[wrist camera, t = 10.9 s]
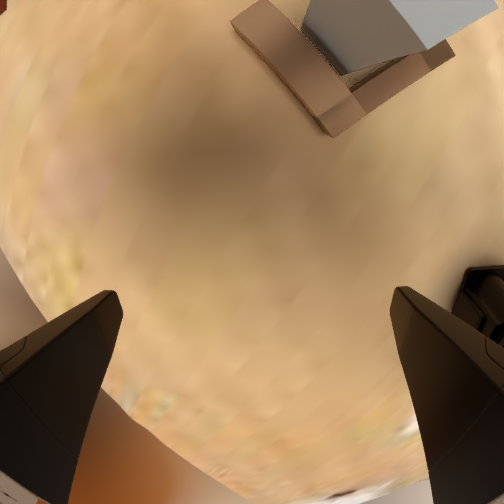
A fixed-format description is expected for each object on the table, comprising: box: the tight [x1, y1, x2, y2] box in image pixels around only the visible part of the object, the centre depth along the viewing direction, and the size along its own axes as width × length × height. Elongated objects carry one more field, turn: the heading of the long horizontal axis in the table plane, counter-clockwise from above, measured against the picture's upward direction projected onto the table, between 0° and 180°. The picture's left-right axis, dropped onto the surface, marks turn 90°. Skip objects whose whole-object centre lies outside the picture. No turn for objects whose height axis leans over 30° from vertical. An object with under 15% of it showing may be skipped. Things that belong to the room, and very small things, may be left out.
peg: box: [301, 0, 498, 75], centre depth 10 cm, size 4×4×12 cm
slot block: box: [230, 0, 455, 138], centre depth 14 cm, size 9×10×2 cm
